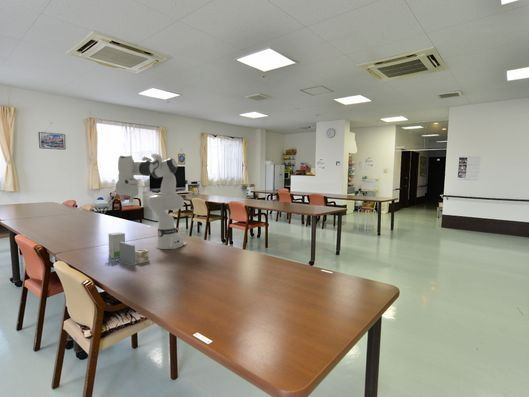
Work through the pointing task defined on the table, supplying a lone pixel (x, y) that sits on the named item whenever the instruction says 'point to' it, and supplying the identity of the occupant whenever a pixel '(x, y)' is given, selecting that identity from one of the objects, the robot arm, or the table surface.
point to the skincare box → (115, 244)
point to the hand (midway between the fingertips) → (126, 202)
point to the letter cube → (141, 255)
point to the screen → (127, 254)
